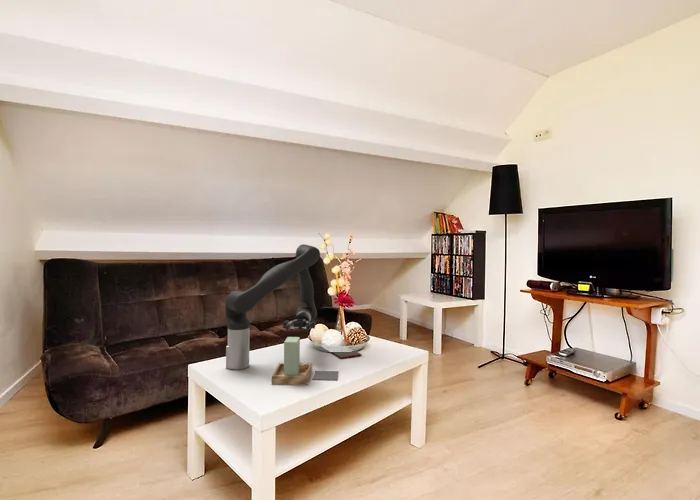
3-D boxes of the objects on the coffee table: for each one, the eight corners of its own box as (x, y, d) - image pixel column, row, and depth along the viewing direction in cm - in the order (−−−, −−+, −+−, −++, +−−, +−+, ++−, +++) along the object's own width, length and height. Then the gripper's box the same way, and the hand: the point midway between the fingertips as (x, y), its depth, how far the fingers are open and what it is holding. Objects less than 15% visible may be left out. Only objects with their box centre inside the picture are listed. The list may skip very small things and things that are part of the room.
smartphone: (340, 342, 208) (362, 354, 186) (340, 344, 208) (362, 357, 186) (319, 344, 203) (340, 357, 181) (319, 347, 203) (340, 360, 181)
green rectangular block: (283, 379, 151) (284, 342, 150) (287, 372, 159) (287, 336, 158) (296, 380, 151) (296, 342, 150) (299, 372, 159) (299, 337, 158)
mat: (312, 380, 154) (312, 379, 154) (315, 371, 164) (315, 370, 164) (337, 380, 154) (337, 379, 154) (338, 371, 164) (338, 371, 164)
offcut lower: (282, 371, 160) (282, 368, 159) (284, 369, 163) (284, 365, 163) (304, 372, 159) (304, 368, 159) (305, 369, 163) (305, 366, 163)
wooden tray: (271, 384, 149) (271, 375, 149) (279, 370, 164) (279, 363, 164) (307, 384, 149) (307, 376, 149) (311, 371, 164) (311, 363, 164)
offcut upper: (288, 368, 159) (288, 364, 159) (289, 365, 163) (289, 362, 163) (303, 368, 159) (303, 365, 159) (304, 366, 163) (304, 362, 163)
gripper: (287, 312, 183) (281, 319, 167) (317, 312, 183) (313, 319, 167) (287, 327, 183) (281, 336, 167) (317, 327, 183) (313, 336, 167)
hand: (297, 328), depth 167 cm, fingers open, 8 cm apart
